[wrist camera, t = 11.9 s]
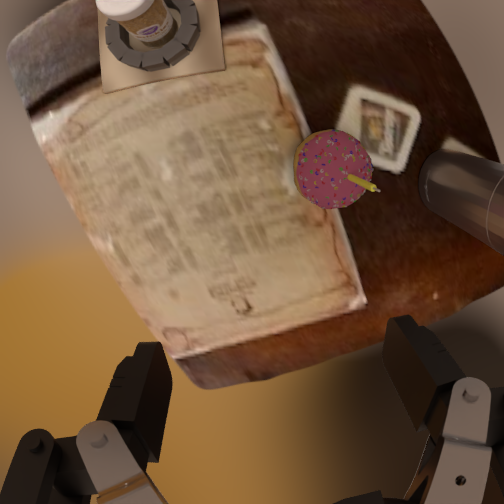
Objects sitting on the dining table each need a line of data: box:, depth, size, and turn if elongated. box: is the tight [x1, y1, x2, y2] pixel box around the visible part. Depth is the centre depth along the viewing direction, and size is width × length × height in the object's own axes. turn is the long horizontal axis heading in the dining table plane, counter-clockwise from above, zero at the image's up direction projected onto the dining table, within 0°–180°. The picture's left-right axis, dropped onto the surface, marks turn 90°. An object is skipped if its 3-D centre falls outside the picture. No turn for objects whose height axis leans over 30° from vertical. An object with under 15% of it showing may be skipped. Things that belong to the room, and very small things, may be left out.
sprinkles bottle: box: [96, 0, 178, 48], centre depth 22 cm, size 5×5×14 cm
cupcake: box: [294, 129, 380, 209], centre depth 31 cm, size 9×8×12 cm
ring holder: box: [98, 0, 225, 94], centre depth 27 cm, size 14×12×5 cm
